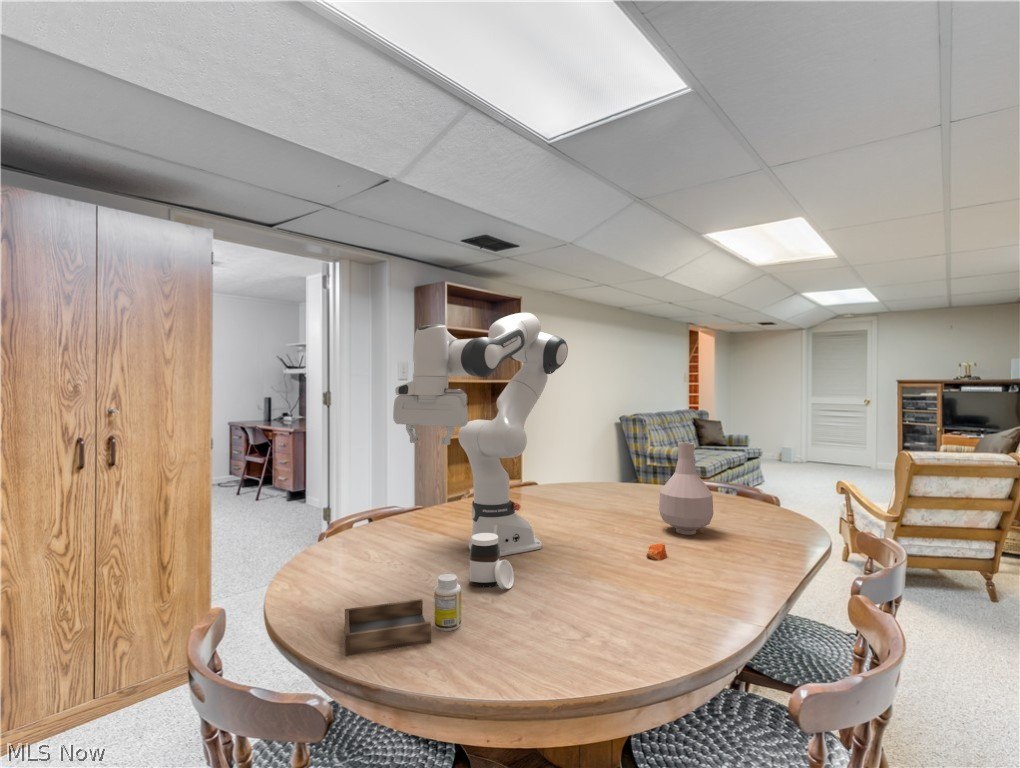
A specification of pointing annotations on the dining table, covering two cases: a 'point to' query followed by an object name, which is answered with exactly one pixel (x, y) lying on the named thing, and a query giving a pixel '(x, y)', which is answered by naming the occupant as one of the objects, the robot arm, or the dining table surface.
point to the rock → (657, 551)
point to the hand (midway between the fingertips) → (429, 443)
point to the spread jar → (489, 563)
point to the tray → (385, 627)
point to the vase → (686, 495)
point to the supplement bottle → (447, 603)
